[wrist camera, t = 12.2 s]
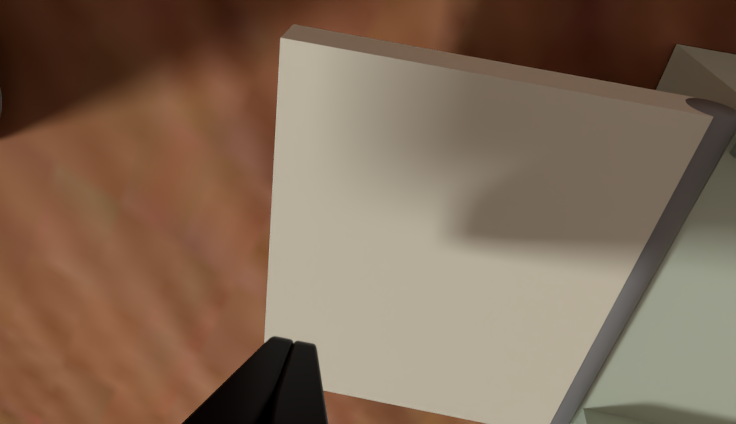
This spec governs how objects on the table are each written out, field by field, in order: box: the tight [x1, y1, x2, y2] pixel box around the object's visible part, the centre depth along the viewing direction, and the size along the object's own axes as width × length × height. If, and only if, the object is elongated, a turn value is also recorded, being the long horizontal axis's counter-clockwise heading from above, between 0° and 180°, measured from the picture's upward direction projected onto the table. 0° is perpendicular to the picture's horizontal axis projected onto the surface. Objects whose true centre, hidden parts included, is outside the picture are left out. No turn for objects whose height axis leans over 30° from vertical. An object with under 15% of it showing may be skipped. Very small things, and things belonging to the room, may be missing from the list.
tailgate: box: [264, 24, 736, 424], centre depth 13 cm, size 10×9×1 cm
